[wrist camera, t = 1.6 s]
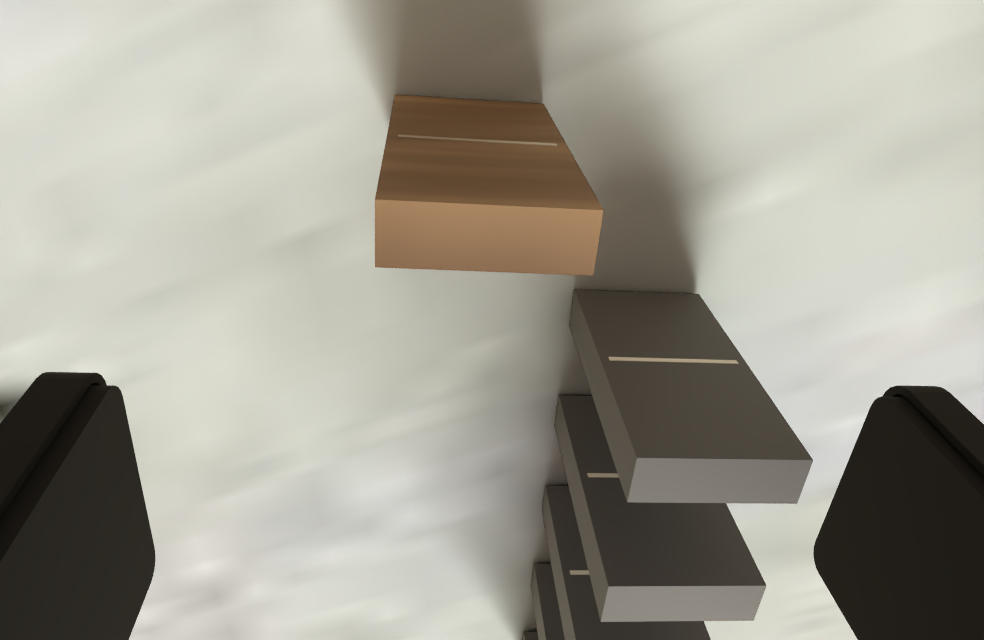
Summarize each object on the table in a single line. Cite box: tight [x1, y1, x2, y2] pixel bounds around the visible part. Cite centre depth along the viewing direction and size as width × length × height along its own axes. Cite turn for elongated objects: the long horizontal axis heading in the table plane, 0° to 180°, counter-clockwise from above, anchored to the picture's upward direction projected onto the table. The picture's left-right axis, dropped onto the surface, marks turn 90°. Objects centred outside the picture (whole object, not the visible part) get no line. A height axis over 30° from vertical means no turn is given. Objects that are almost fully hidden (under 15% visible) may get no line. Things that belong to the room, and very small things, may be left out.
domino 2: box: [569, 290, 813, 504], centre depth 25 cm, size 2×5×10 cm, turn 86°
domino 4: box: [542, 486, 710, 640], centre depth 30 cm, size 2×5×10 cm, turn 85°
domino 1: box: [375, 95, 604, 275], centre depth 21 cm, size 2×5×10 cm, turn 86°
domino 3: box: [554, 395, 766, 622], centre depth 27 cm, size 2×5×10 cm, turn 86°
